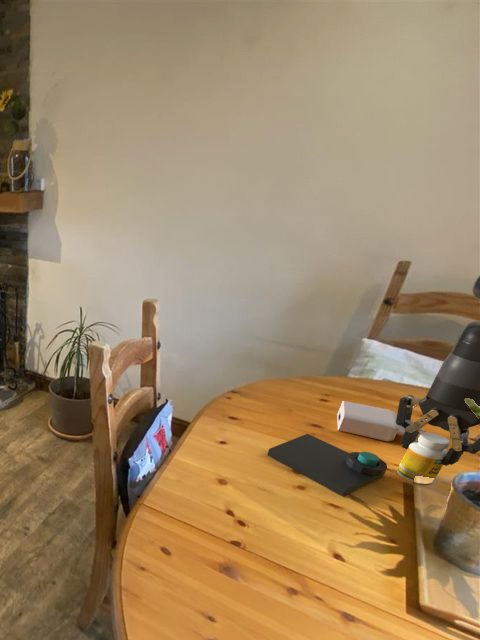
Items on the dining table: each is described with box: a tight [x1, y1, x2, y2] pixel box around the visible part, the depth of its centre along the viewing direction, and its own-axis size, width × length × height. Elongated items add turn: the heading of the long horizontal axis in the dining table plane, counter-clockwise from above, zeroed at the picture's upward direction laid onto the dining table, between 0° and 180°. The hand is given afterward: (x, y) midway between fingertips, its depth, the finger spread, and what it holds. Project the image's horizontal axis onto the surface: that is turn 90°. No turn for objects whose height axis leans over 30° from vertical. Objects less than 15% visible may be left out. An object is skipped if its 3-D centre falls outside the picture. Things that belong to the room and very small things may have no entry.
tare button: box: [357, 451, 380, 466], centre depth 84 cm, size 3×3×2 cm
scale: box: [266, 433, 388, 498], centre depth 88 cm, size 15×13×4 cm
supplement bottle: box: [396, 432, 451, 483], centre depth 82 cm, size 5×5×10 cm
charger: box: [336, 400, 427, 442], centre depth 97 cm, size 5×9×15 cm
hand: (425, 455), depth 82 cm, fingers closed on supplement bottle, 5 cm apart
